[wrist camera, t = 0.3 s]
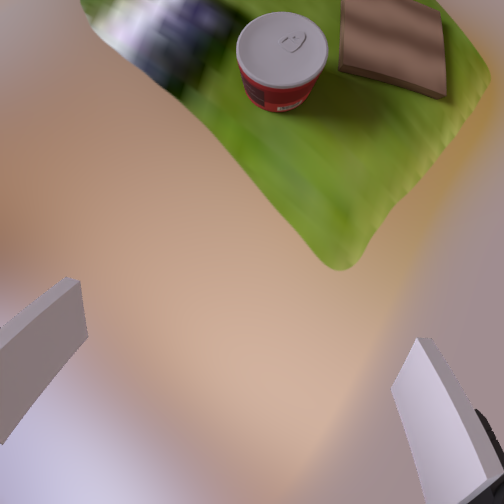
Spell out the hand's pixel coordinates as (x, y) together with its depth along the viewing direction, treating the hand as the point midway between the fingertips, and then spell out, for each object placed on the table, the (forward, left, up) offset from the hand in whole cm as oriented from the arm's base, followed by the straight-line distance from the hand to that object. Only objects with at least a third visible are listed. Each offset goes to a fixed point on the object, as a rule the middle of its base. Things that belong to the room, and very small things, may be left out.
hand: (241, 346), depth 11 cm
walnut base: (-27, +14, -26) cm, 40 cm away
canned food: (-17, 0, -26) cm, 31 cm away
